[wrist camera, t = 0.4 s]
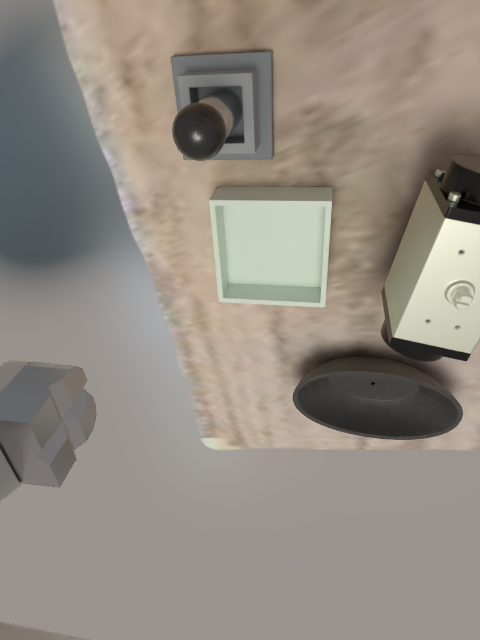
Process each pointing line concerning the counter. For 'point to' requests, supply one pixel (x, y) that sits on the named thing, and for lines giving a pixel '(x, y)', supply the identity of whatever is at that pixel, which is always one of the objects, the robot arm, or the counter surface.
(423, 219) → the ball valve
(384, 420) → the bowl
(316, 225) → the bin
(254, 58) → the socket block
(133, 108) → the counter surface
